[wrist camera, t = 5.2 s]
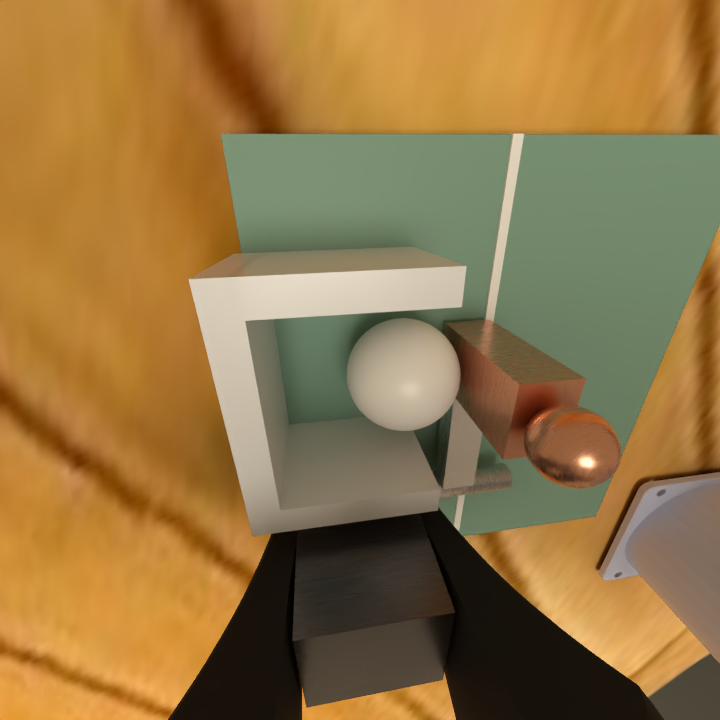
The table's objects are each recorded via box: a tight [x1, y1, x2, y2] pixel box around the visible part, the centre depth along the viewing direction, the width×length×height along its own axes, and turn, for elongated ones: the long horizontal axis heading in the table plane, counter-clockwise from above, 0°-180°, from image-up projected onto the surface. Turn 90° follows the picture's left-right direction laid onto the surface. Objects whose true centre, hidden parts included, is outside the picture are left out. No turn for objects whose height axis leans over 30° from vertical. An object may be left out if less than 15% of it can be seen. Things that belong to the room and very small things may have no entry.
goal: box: [189, 247, 467, 536], centre depth 9 cm, size 5×7×4 cm
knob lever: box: [292, 320, 621, 707], centre depth 9 cm, size 9×8×6 cm
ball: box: [347, 318, 461, 431], centre depth 9 cm, size 3×3×3 cm
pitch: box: [221, 134, 720, 536], centre depth 12 cm, size 15×16×1 cm
